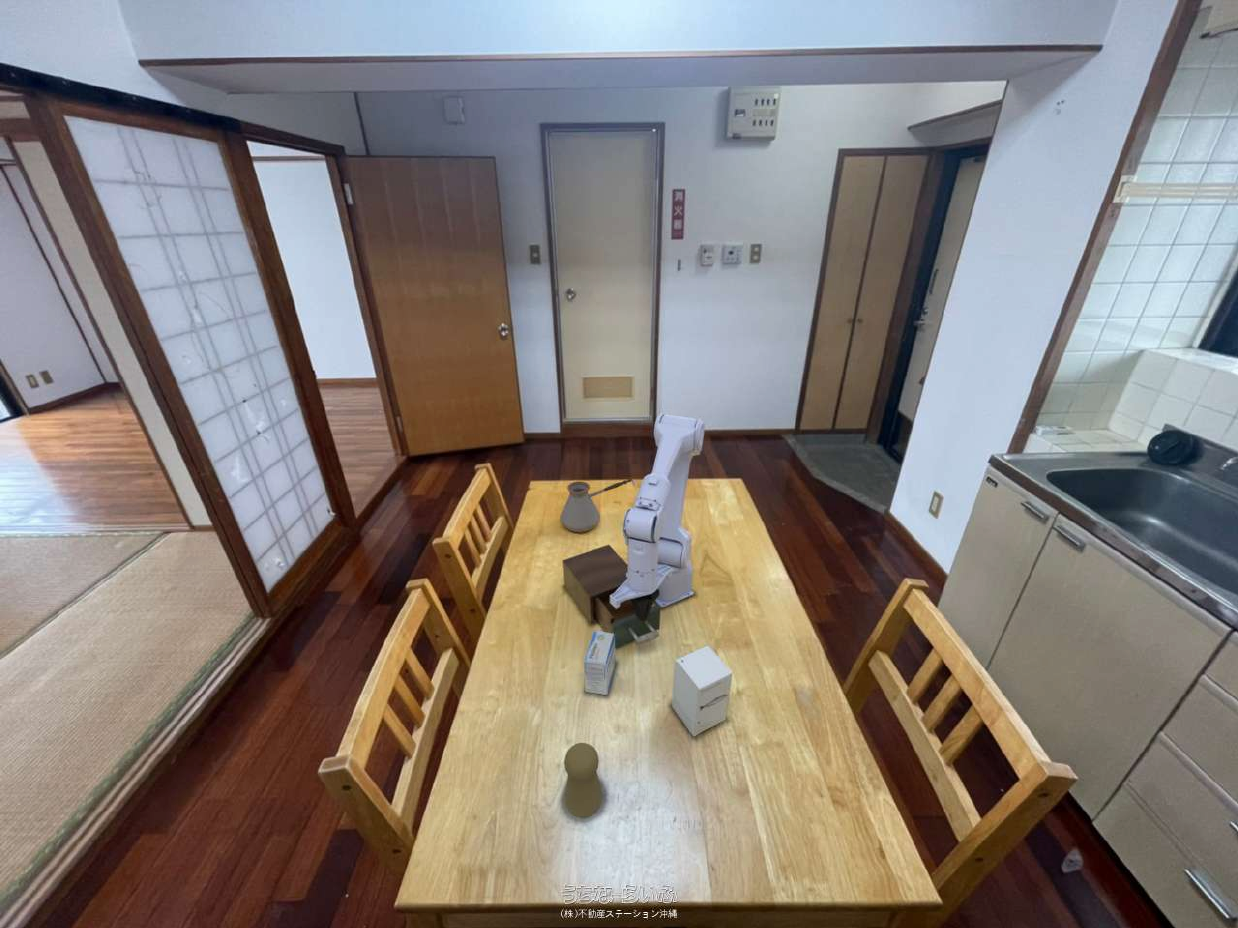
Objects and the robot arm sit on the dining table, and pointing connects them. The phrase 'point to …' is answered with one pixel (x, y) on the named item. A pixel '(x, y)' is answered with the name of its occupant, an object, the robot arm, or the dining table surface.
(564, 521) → the coffee pot
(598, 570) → the cabinet
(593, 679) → the medicine box
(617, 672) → the dining table surface
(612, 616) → the drawer
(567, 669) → the dining table surface
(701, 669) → the white packaging box
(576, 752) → the brown pawn figure
